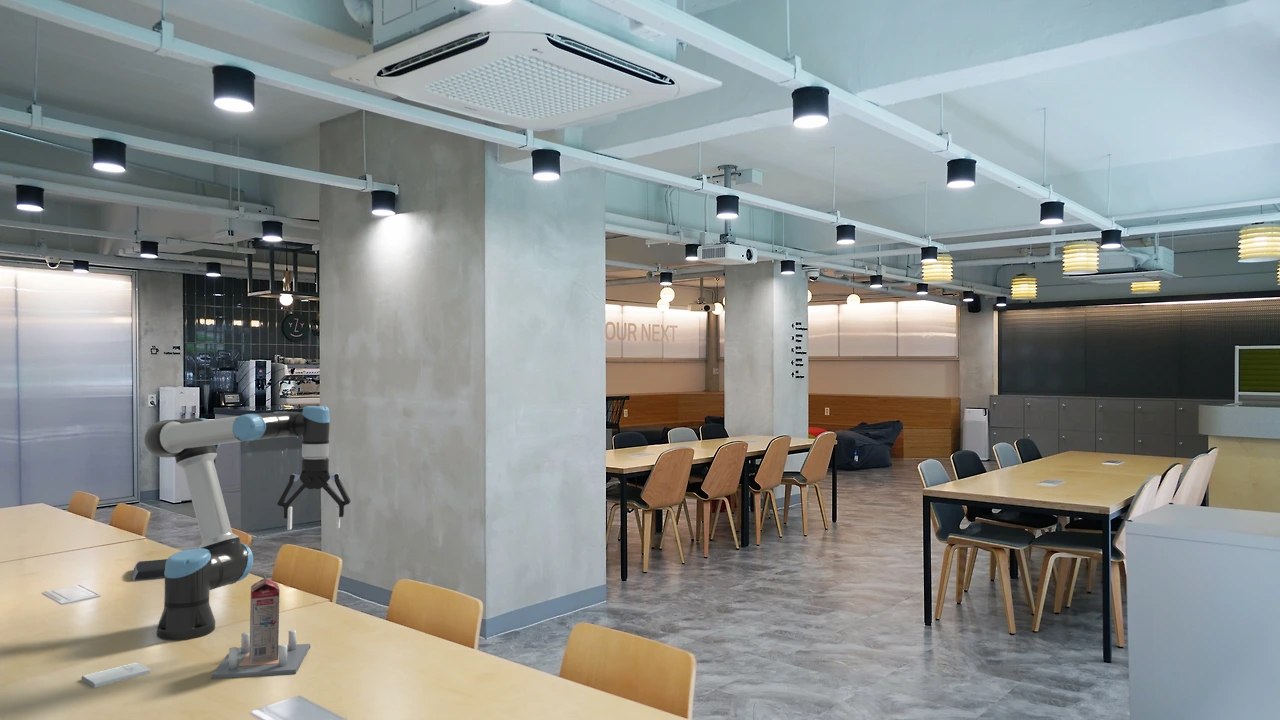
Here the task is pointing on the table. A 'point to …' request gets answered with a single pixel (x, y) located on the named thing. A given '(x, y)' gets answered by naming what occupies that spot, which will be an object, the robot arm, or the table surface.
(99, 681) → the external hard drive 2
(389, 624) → the table surface
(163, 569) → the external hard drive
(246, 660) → the peg stand
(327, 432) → the robot arm
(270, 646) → the juice carton
